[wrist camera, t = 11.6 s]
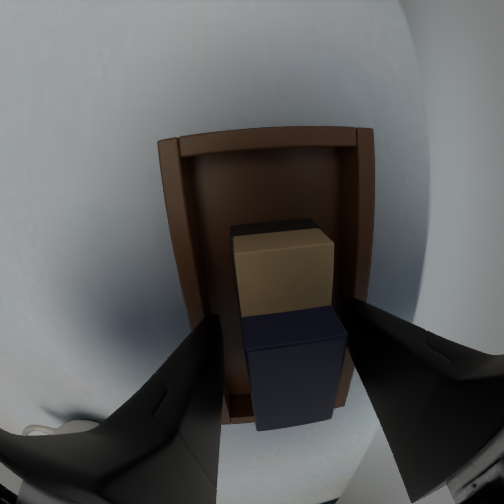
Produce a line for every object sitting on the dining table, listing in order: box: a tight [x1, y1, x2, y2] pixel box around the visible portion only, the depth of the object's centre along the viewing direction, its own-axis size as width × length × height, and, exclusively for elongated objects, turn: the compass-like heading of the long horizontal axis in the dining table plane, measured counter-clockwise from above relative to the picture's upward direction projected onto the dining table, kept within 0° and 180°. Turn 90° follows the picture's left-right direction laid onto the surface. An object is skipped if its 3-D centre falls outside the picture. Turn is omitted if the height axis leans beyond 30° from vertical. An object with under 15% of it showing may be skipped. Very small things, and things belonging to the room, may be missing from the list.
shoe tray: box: [157, 126, 375, 425], centre depth 10 cm, size 6×12×2 cm, turn 5°
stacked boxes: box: [230, 218, 348, 431], centre depth 8 cm, size 6×3×4 cm, turn 5°
